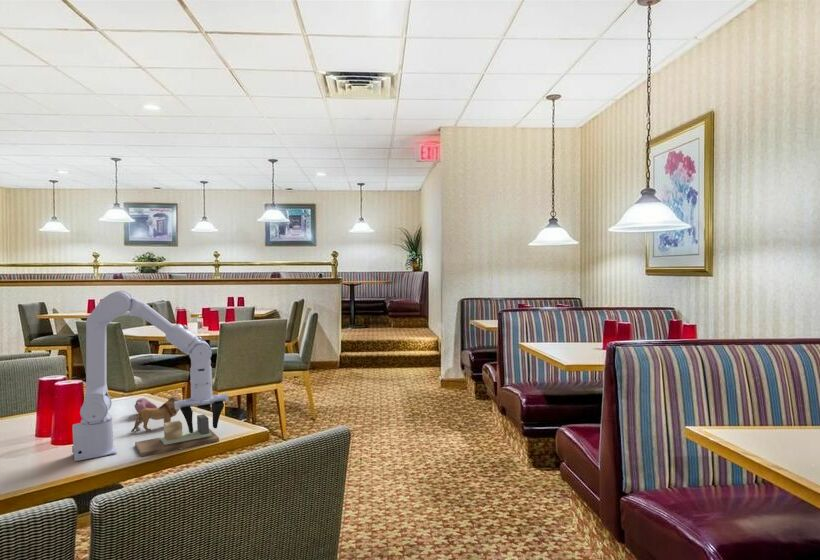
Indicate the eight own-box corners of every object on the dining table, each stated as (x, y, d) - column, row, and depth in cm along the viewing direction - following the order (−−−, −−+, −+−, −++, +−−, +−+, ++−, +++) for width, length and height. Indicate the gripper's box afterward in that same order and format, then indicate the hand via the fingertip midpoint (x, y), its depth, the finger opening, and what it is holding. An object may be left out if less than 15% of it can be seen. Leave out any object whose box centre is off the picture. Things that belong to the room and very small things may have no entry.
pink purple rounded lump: (146, 416, 186) (135, 399, 185) (158, 409, 187) (148, 392, 186) (141, 423, 177) (130, 406, 175) (154, 416, 178) (143, 398, 177)
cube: (167, 440, 147) (166, 426, 147) (164, 437, 151) (163, 423, 150) (182, 437, 150) (182, 423, 149) (179, 434, 153) (179, 420, 153)
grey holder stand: (164, 445, 146) (163, 426, 145) (159, 438, 151) (159, 421, 151) (211, 435, 153) (211, 418, 152) (205, 430, 158) (205, 413, 158)
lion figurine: (178, 421, 173) (177, 394, 172) (184, 425, 168) (183, 396, 168) (128, 431, 163) (127, 402, 163) (133, 435, 159) (132, 405, 159)
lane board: (141, 456, 141) (140, 453, 140) (135, 445, 150) (135, 442, 150) (219, 441, 152) (219, 437, 152) (209, 431, 161) (209, 428, 161)
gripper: (177, 389, 147) (179, 438, 147) (230, 381, 155) (232, 428, 155) (172, 384, 153) (174, 432, 153) (224, 377, 161) (225, 422, 161)
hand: (203, 429), depth 155 cm, fingers open, 6 cm apart
